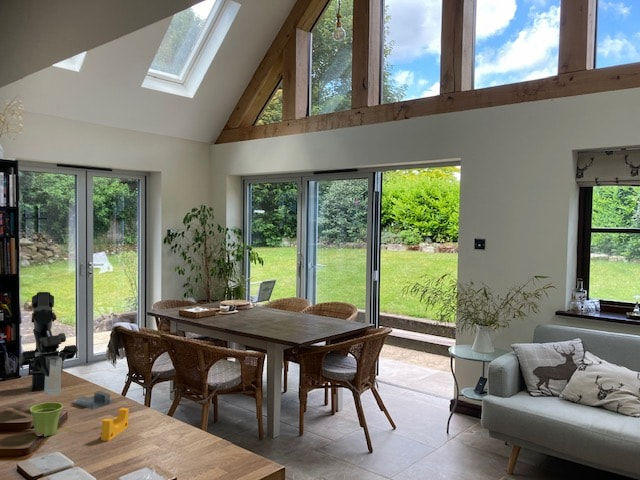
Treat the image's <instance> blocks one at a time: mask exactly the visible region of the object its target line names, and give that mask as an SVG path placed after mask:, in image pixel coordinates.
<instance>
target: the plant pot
mask: <svg viewBox="0 0 640 480" xmlns="http://www.w3.org/2000/svg"><path fill="white" fill-rule="evenodd" d="M63 408H64V405H63V404H62V403H61V402H53V401H50V402H41V403H39V404H35V405H33V406H31V407H30V408H29V412H30V413H31V416H32V421H33V430H34V433H35V432H38V433H43V434H44V437H43V438H46V437H47V436H50V437H51V436H53V435H55V434H56V433H57V430H58V425H59V420H60V415H61V412H62V409H63Z"/></svg>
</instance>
